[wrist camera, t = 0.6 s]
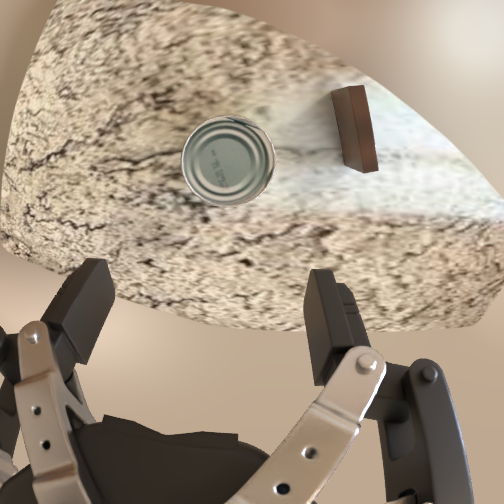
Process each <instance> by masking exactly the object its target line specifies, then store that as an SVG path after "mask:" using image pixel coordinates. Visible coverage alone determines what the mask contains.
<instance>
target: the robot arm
mask: <svg viewBox="0 0 504 504" xmlns="http://www.w3.org/2000/svg"><path fill="white" fill-rule="evenodd" d="M114 300H115V288H114V284H113V281H112V278H111V275H110V272H109V268H108V265H107V262H106V260H105V259H98V258H87V259H86V260H85V261H84V262H83V264H82V265H81V267H80V268H79V270H78V269H77V270H75V271H74V272H73V273H72V274H71V275H69V276H68V277H67V279H66V280H65V281H64V283H63V285H62V288H60V289H59V291H58V292H57V295H55V297H54V298H53V300H52V301H51V303H50V305H49V306H48V308H47V310H46V311H45V313H44V314H43V316H42V318H41V319H40V321H32V322H30V323H28V324H26V325H25V326H24V327H23V328H22V329H21V331H20V332H19V333H17V334H6V333H5V331H4V330H3V328H2V327H1V326H0V372H1V373H2V375H3V376H4V377H5V379H4V381H3V384H2V386H1V388H0V504H317V503H316V502H315V501H314V499H315V498H316V497H317V495H318V494H319V493H320V491H321V490H322V489H323V487H324V486H325V484H326V483H327V482H328V480H329V479H330V477H331V476H332V474H333V473H334V471H335V470H336V468H337V467H338V465H339V463H340V462H341V461H342V459H343V457H344V456H345V454H346V453H347V451H348V449H349V448H350V446H351V444H352V443H353V441H354V439H355V437H356V436H357V434H358V432H359V430H360V427H361V425H360V422H361V421H362V419H363V418H367V419H373V420H377V422H378V429H379V436H380V443H381V450H382V459H383V467H384V476H385V488H386V501H387V503H385V504H474V498H473V490H472V483H471V477H470V471H469V465H468V460H467V455H466V451H465V446H464V442H463V437H462V433H461V429H460V425H459V422H458V418H457V414H456V411H455V408H454V404H453V401H452V398H451V394H450V391H449V388H448V385H447V382H446V379H445V376H444V373H443V371H442V369H441V368H440V367H439V365H438V364H437V363H435V362H434V361H432V360H429V359H418V360H416V361H414V362H413V364H412V365H411V366H410V367H407V366H402V365H397V364H392V363H388V362H386V361H385V360H384V358H383V356H382V355H381V354H380V353H379V352H378V351H377V350H375V349H373V348H371V345H370V342H369V340H368V336H367V333H366V330H365V327H364V324H363V321H362V318H361V315H360V314H359V309H358V307H357V305H356V301H355V298H354V295H353V293H352V292H351V290H350V289H349V288H348V287H347V286H346V285H345V284H344V283H336V281H335V278H334V275H333V272H332V270H329V269H311V271H310V275H309V279H308V284H307V289H306V293H305V298H304V306H303V311H304V319H305V325H306V331H307V338H308V343H309V350H310V356H311V363H312V371H313V378H314V384H315V386H323V385H324V389H323V390H322V392H321V393H320V395H319V396H318V397H317V399H316V400H315V401H313V402H312V404H311V405H310V406H309V408H308V409H307V410H306V412H305V413H304V414H303V416H302V417H301V418H300V420H299V421H298V422H297V424H296V425H295V426H294V428H293V429H292V430H291V431H290V433H289V434H288V435H287V436H286V438H285V439H284V440H283V441H282V442H281V444H280V445H279V446H278V447H277V449H276V450H275V451H274V452H273V453H272V455H271V456H269V455H268V454H267V453H265V452H264V451H262V450H261V449H258V448H257V447H255V446H252V445H250V444H247V443H244V442H241V441H238V434H231V433H215V432H204V431H202V432H194V433H185V434H175V435H164V434H161V433H159V432H156V431H154V430H152V429H149V428H147V427H145V426H143V425H141V424H138V423H136V422H134V421H130V420H126V419H121V418H117V417H113V416H109V415H104V417H103V421H102V422H96V420H95V419H94V417H93V416H92V414H91V412H90V411H89V409H88V406H87V403H86V400H85V398H84V395H83V392H82V389H81V386H80V382H79V379H78V376H77V373H76V370H75V369H74V367H75V364H76V363H80V364H84V365H87V362H88V360H89V357H90V355H91V353H92V350H93V348H94V345H95V343H96V341H97V338H98V336H99V334H100V331H101V329H102V327H103V325H104V322H105V320H106V318H107V316H108V313H109V311H110V309H111V307H112V305H113V303H114ZM20 426H21V431H22V435H23V439H24V443H25V447H26V451H27V455H28V458H29V462H30V464H29V465H27V466H26V467H25V468H23V469H22V470H20V471H19V472H18V469H17V467H16V466H15V465H13V461H12V458H13V454H14V449H15V445H16V441H17V437H18V434H19V430H20Z"/></svg>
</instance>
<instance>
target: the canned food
mask: <svg viewBox="0 0 504 504" xmlns="http://www.w3.org/2000/svg"><path fill="white" fill-rule="evenodd" d="M275 167H276V154H275V150H274V147H273V143H272V141H271V140H270V138H269V136H268V135H267V133H266V132H265V131H264V130H263V129H262V128H261V127H260V126H259V125H258V124H256V123H255V122H253V121H251V120H249V119H247V118H244V117H239V116H235V115H225V116H218V117H214V118H211V119H208V120H206V121H205V122H203V123H202V124H200V125H199V126H197V127H196V128H195V129H194V131H193V132H192V133H191V134H190V135H189V136H188V138H187V140H186V142H185V144H184V146H183V150H182V155H181V169H182V174H183V176H184V179H185V182H186V184H187V185H188V187H189V188H190V189H191V191H192V192H193V193H194V194H195V195H196V196H198V197H199V198H200V199H201V200H203V201H205V202H207V203H209V204H211V205H214V206H219V207H224V208H225V207H238V206H241V205H244V204H247V203H249V202H251V201H253V200H254V199H256V198H258V197H259V196H260V195H261V194H262V193H263V192H264V191H265V190H266V189H267V187H268V185H269V184H270V182H271V180H272V178H273V175H274V171H275Z"/></svg>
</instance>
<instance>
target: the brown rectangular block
mask: <svg viewBox="0 0 504 504" xmlns="http://www.w3.org/2000/svg"><path fill="white" fill-rule="evenodd" d="M331 95H332V100H333V104H334V109H335V113H336V118H337V123H338V128H339V133H340V139H341V144H342V150H343V156H344V162H345V166H347V167H350V168H352V169H355V170H357V171H359V172H362V173H369V172H375V171H379V169H378V161H377V154H376V147H375V140H374V134H373V128H372V122H371V117H370V112H369V106H368V102H367V97H366V92H365V88H364V85H359V86H348V87H344V88H341V89H338V90H334V91H331Z"/></svg>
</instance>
